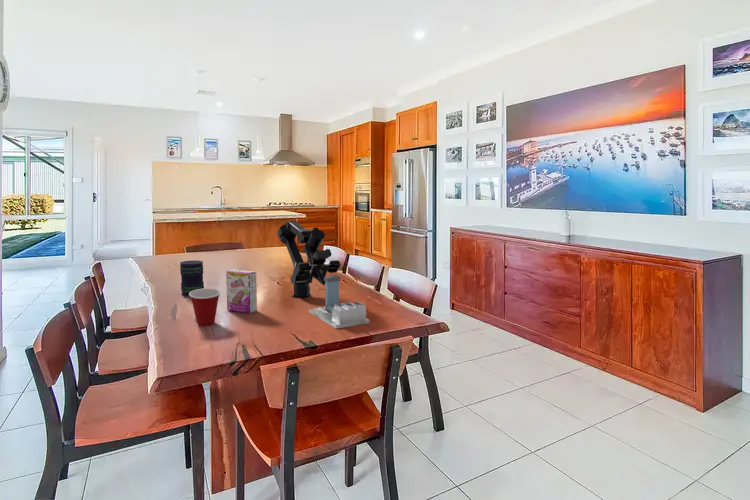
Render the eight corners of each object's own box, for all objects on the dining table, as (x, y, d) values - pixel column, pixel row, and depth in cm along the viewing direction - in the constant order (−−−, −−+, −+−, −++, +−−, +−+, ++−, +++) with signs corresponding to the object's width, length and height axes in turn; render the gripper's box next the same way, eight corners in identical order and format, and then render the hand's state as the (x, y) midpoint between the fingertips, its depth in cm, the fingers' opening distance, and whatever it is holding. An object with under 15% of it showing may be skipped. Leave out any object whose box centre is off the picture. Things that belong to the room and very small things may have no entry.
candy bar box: (226, 311, 175) (225, 271, 173) (234, 307, 180) (233, 268, 178) (250, 314, 172) (249, 273, 170) (257, 310, 176) (256, 271, 174)
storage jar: (208, 293, 203) (207, 261, 201) (190, 297, 195) (188, 264, 193) (195, 290, 208) (194, 259, 206) (176, 294, 200) (175, 262, 198)
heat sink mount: (309, 312, 176) (309, 294, 175) (340, 307, 183) (340, 290, 182) (335, 328, 156) (335, 308, 155) (369, 323, 163) (369, 303, 162)
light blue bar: (324, 310, 174) (324, 276, 172) (336, 308, 177) (336, 275, 175) (332, 314, 168) (332, 280, 166) (345, 312, 171) (345, 278, 169)
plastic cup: (191, 330, 152) (190, 296, 150) (188, 321, 161) (187, 289, 159) (224, 326, 157) (223, 293, 155) (219, 318, 166) (218, 287, 164)
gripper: (297, 243, 176) (308, 275, 169) (339, 241, 186) (351, 271, 178) (290, 260, 184) (301, 291, 176) (330, 257, 194) (342, 286, 186)
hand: (324, 284), depth 179 cm, fingers closed
